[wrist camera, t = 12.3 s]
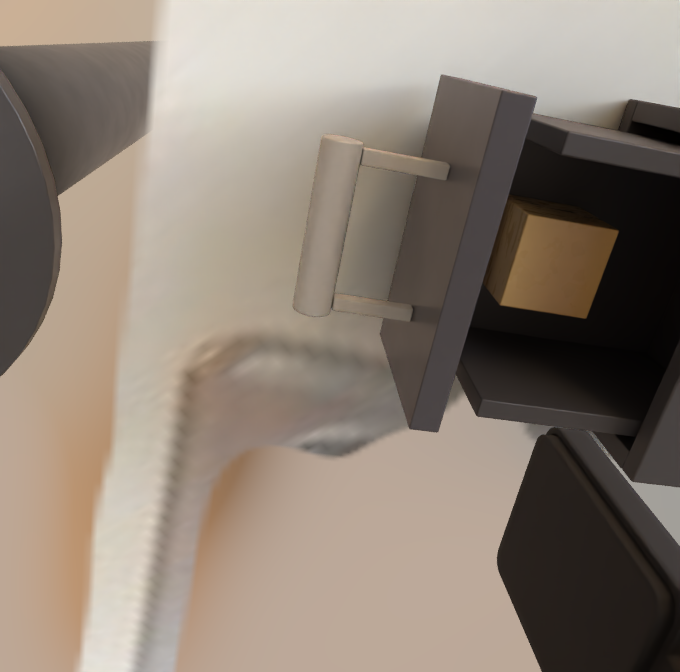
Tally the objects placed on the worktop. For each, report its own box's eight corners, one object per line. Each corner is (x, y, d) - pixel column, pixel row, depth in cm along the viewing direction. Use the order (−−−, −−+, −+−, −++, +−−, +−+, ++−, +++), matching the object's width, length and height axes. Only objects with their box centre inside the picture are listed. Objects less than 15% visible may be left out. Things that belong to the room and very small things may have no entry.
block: (474, 274, 31) (499, 305, 27) (498, 191, 29) (528, 213, 26) (552, 286, 32) (586, 319, 28) (579, 207, 30) (620, 230, 26)
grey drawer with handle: (282, 320, 32) (281, 414, 24) (327, 50, 27) (344, 57, 19) (638, 371, 35) (742, 470, 27) (739, 136, 30) (903, 172, 22)
